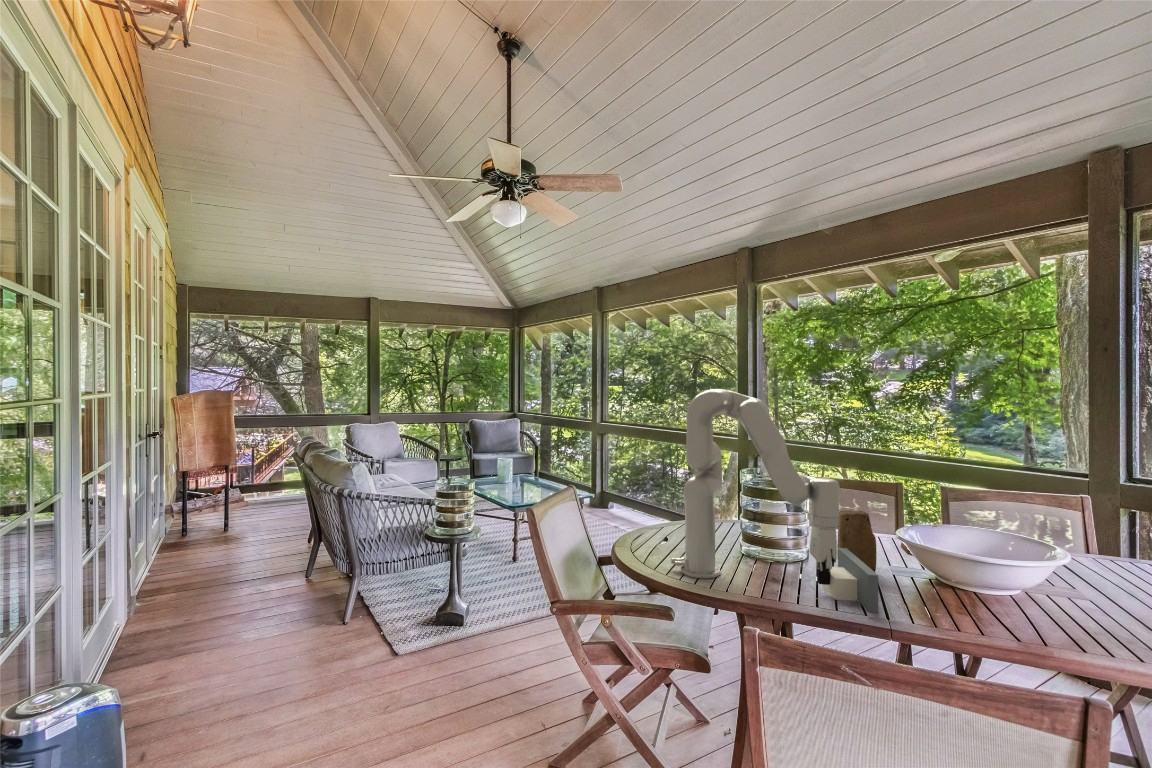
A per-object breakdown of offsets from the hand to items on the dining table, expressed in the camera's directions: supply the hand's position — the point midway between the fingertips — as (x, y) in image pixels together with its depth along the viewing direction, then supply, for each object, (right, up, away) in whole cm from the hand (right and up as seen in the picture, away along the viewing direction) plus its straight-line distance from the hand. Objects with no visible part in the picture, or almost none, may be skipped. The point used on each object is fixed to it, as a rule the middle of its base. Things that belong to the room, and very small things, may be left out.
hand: (823, 583), depth 157 cm
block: (+18, -3, +16) cm, 25 cm away
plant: (+57, -4, +38) cm, 69 cm away
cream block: (+5, -3, 0) cm, 6 cm away
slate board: (+9, -3, -1) cm, 9 cm away
